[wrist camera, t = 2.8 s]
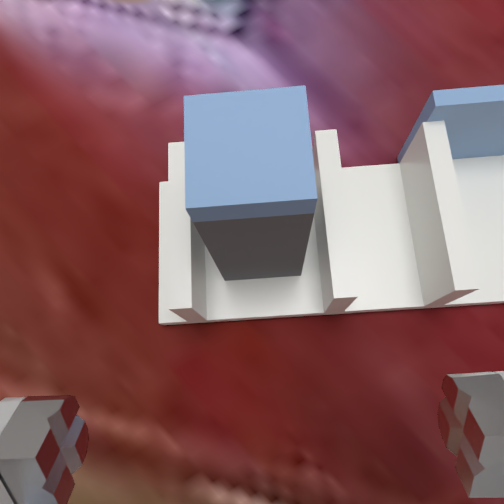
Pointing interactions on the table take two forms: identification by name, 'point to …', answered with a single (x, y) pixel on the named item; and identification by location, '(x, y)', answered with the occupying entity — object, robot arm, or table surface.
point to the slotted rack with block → (366, 227)
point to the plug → (251, 179)
